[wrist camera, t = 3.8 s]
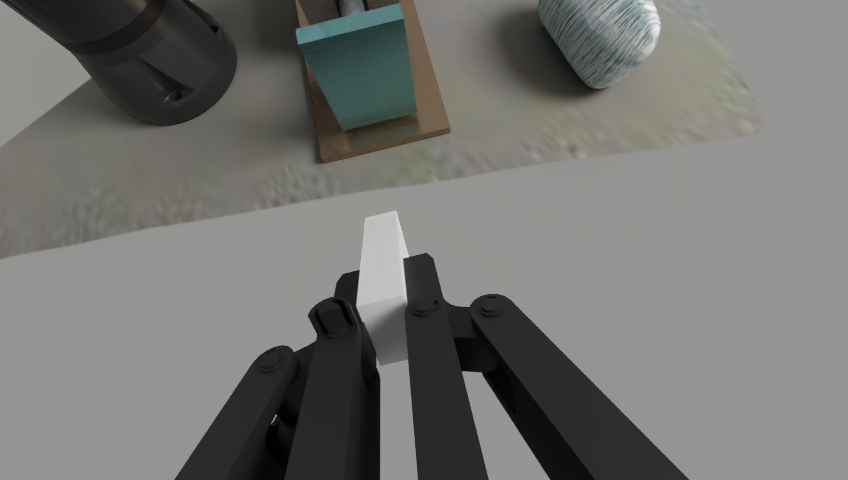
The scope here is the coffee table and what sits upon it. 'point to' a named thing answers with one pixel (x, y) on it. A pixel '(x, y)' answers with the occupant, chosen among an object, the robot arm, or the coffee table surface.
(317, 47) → the block
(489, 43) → the coffee table surface
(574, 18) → the spool
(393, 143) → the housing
